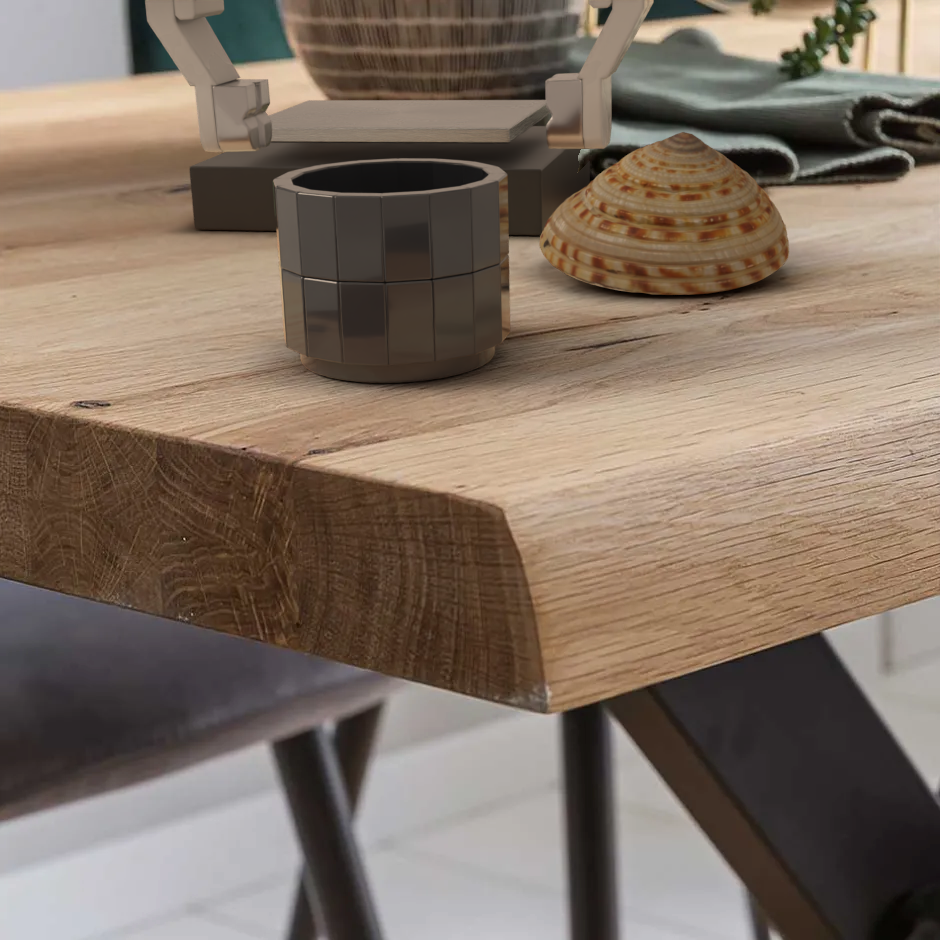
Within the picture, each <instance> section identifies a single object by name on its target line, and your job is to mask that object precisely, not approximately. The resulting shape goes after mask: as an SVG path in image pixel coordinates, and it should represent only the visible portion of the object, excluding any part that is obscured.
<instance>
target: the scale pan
mask: <svg viewBox="0 0 940 940" xmlns="http://www.w3.org/2000/svg"><path fill="white" fill-rule="evenodd" d="M548 115H551V114H550V112H549V111H548V110H547V108H546V99H393V100H392V99H388V100H385V99H384V100H383V99H379V100H377V99H374V100H373V99H363V100H362V99H358V100H357V99H355V100H353V99H352V100H351V99H349V100H348V99H347V100H346V99H345V100H344V99H336V100H335V99H333V100H332V99H331V100H327V99H326V100H322V99H321V100H314V99H313V100H306V101H303V102H301V103H297V104H296V105H293V106H290V107H288V108H284V109H282V110H280V111H277V112H274V113H271V114H268V116H269V117H270V119H271V120H272V139H271V142H270V143H488V144H508V143H510V142H511V141H513V140H514V139H515V138H517V137H518V136H519V135H521V134H522V133H524V132H525V131H526V130H528V129H529V128H531V127H532V126H536V124H538V123H539V122H540V121H542V120H543V119H544V118H546V117H547V116H548Z"/></svg>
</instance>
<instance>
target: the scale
mask: <svg viewBox="0 0 940 940" xmlns="http://www.w3.org/2000/svg"><path fill="white" fill-rule="evenodd" d="M580 150H581V149H549V147H548V144H547V136H546V125H533V126H532V127H531V128H529V129H528V130H526V131H525V132H524V133H522V134H521V135H519V136H518V137H517V138H515V139H514V140H513V141H511V142H510V143H508V144H488V143H270V145H269V146H267V147H264V148H260V150H258V151H238V152H224V151H223V152H221V153H220V154H217V155H215V156H212V157H209V158H207V159H205V160H202V161H200V162H198V163H195V164H193V165H191V166H189V170H188V171H189V180H190V191H191V192H190V193H191V202H192V203H191V205H192V214H193V227H194V230H198V231H252V232H253V231H258V232H259V231H261V232H277V231H276V217H275V202H274V188H273V180H274V179H275V178H277V177H279V176H281V175H283V174H285V173H287V172H290V171H294V170H298V169H303V168H308V167H312V166H317V165H318V166H319V165H324V164H332V163H341V162H349V161H359V160H378V159H396V158H397V159H399V158H408V159H449V160H461V161H472V162H479V163H483V164H488V165H493V166H497V167H499V168H501V169H502V170H503V171H504V172H506V173H507V175H508V226H509V236H541V234H542V232H543V230H544V227H545V224H546V222H547V220H548V219H549V218H550V217H551V215H552V214H553V212H554V211H555V210H556V209H557V208H558V207H559V206H560V205H561V204H562V203H563V202H564V201H565V200H566V199H567V198H569V197H571V196H572V195H573V194H575V193H576V192H578V191H580V190H581V189H583V188H584V187H586V186H588V184H589V183H590V182H591V160H590V161H589V162H588V163H587V164H586V165H585V166H584V167H583V168H582V169H581V170H580V171H579V172H578V168H579V165H580V164H579V161H578V155H579V153H580ZM577 172H578V173H577Z"/></svg>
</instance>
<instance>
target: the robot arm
mask: <svg viewBox="0 0 940 940" xmlns="http://www.w3.org/2000/svg"><path fill="white" fill-rule="evenodd" d="M224 1H225V0H144V4H145V13H146V22H147V24H148V25H149V26H150V28H151V29H152V31H153V32H154V34H155V36H156V37H157V39H158V40H159V42H160V43H161V44H162V46H163V48H164V49H165V51H166V52H167V54H168V55H169V56H170V58H171V59H172V61H173V63H174V64H175V66H176V67H177V68H178V70H179V72H180V73H181V75H182V76H183V78H184V79H185V80H186V82H187V83H188V85H189V86H190V87H194V93H195V103H196V111H197V112H196V113H197V123H198V135H199V142H200V144H201V147H202V149H203V151H204V152H207V153H224V152H238V151H258V150H260V148H264V147H267V146H269V145H270V142H271V139H272V120H271V119H270V117H269V114H268V113H267V111H268V109H269V106H270V105H271V98H270V97H271V95H270V86H269V85H270V84H269V79H267V78H265V79H264V78H262V79H261V78H241V76H240V75H239V72H238V70H237V69H236V67H235V66H234V64H233V62H232V61H231V58H230V57H229V55H228V54H227V52H226V50H225V48H224V47H223V46H222V43H221V42H220V40H219V39H218V37H217V35H216V34H215V32H214V30H213V27H212V26H211V25H210V23H209V21H208V19H207V17H212V16H217V15H221V14H223V12H224V11H225V2H224ZM653 4H654V0H588V5H589V6H590V7H592V8H593V9H608V8H610V7H611V8H612V9H611V11H610V13H609V15H608V17H607V19H606V21H605V23H604V25H603V27H602V28H601V30H600V32H599V34H598V36H597V38H596V39H595V42H594V44H593V46H592V47H591V50H590V52H589V54H588V55H587V57H586V59H585V61H584V63H583V65H582V67H581V69H580V71H579V72H569V73H567V72H566V73H555V74H554V75H552V76H551V77H549V78H547V79H546V80H544V87H545V90H544V91H545V100H546V108H547V110H548V111H549V112H550V114H549V115H550V116H551V117H550V118H549V120H548V121H547V123H546V125H545V126H546V136H547V144H548V147H549V149H590V150H592V149H593V150H594V149H595V150H596V149H598V150H599V149H601V150H603V149H606V148H607V146H608V145H609V144H610V142H611V138H612V137H611V136H612V128H613V127H612V126H613V125H612V124H613V121H612V118H613V117H612V75H613V74H615V73H616V72H617V70H618V68H619V67H620V65H621V63H622V61H623V59H624V58H625V55H626V54H627V52H628V50H629V48H630V47H631V44H632V43H633V41H634V39H635V37H636V35H637V34H638V32H639V30H640V28H641V26H642V25H643V23H644V21H645V19H646V17H647V15H648V13H649V12H650V10H651V8H652V6H653Z"/></svg>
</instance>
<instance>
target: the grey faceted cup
mask: <svg viewBox="0 0 940 940" xmlns="http://www.w3.org/2000/svg"><path fill="white" fill-rule="evenodd" d="M273 188H274V202H275V217H276V231H275V232H276V245H277V257H278V273H279V286H280V288H279V289H280V300H281V317H282V331H283V339H284V343H285V346H286V348H288V349H289V350H291V351H293V352H295V353H296V354H299V357H300V358H299V359H300V362H301V364H302V366H303V367H304V368H305V369H306V370H308V371H310V372H312V373H314V374H317V375H319V376H322V377H326V378H329V379H330V378H331V379H335V380H341V381H347V382H357V383H369V384H393V383H395V384H398V383H399V384H400V383H414V382H424V381H425V382H426V381H432V380H438V379H444V378H449V377H453V376H458V375H462V374H465V373H468V372H471V371H474V370H477V369H479V368H482V367H483V366H485V365H486V364H488V363H489V362H490V361H491V360H492V359H493V358H494V357H495V354H496V347H497V346H500V345H501V344H502V343H503V342H504V340H505V339H506V338H507V336H508V335H509V334H510V333H511V297H510V296H511V292H510V290H511V289H510V288H511V287H510V286H511V285H510V257H509V256H510V255H509V253H510V235H509V226H508V175H507V173H506V172H504V171H503V170H502V169H501V168H499V167H497V166H493V165H488V164H483V163H479V162H472V161H461V160H449V159H408V158H399V159H397V158H396V159H378V160H359V161H349V162H341V163H332V164H324V165H319V166H318V165H317V166H312V167H308V168H303V169H298V170H294V171H290V172H287V173H285V174H283V175H281V176H279V177H277V178H275V179H274V180H273Z"/></svg>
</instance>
